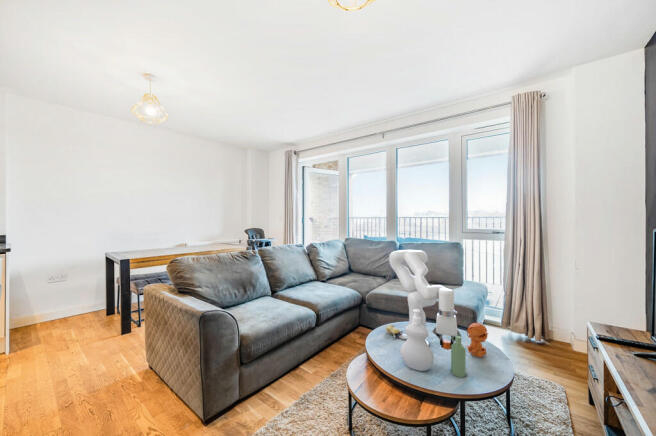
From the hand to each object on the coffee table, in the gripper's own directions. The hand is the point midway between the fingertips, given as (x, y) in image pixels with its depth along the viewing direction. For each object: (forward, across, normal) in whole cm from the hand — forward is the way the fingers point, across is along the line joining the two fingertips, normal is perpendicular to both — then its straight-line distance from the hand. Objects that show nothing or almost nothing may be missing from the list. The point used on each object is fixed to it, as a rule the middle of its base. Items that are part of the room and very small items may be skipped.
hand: (446, 346), depth 141 cm
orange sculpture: (+9, -16, -16) cm, 24 cm away
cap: (0, 0, 0) cm, 0 cm away
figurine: (+9, +30, -22) cm, 38 cm away
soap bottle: (+9, +14, +10) cm, 19 cm away
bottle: (+9, -5, +7) cm, 13 cm away
